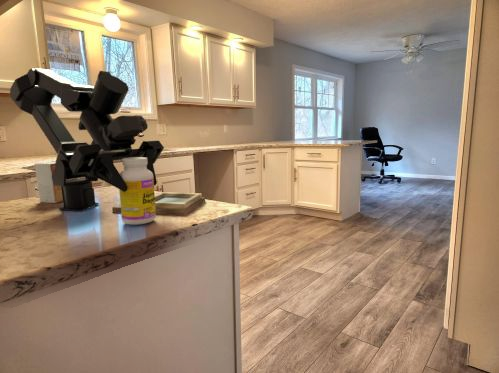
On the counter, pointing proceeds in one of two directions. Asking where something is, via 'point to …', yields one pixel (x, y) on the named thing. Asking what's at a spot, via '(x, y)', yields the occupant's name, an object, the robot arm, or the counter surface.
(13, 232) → the counter surface
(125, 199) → the supplement bottle
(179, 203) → the brown shallow tray
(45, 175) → the small box
